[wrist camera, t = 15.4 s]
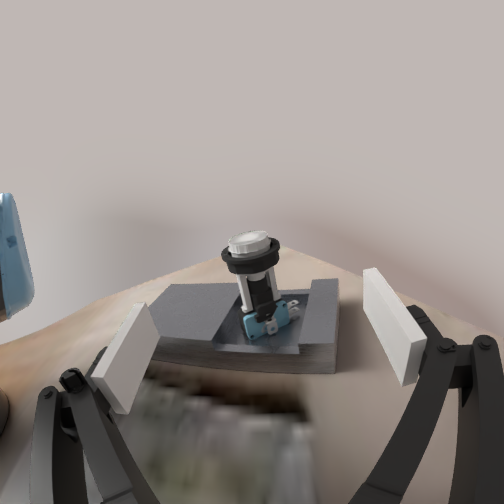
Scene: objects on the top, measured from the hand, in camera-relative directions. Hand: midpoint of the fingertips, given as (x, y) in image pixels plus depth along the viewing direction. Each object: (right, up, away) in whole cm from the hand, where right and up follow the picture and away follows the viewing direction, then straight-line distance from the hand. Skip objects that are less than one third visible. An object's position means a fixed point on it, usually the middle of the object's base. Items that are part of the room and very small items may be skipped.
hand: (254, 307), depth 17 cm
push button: (+2, -5, +13) cm, 14 cm away
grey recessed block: (-2, -6, +15) cm, 17 cm away
